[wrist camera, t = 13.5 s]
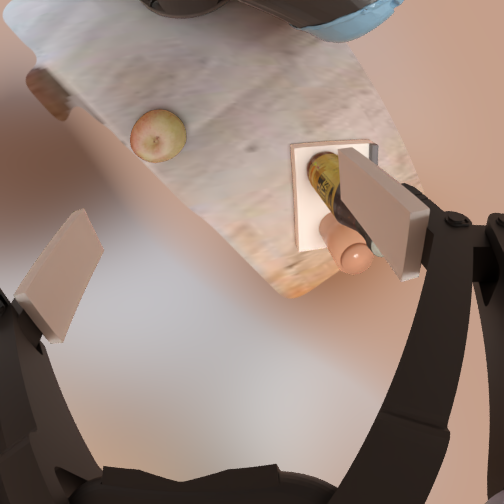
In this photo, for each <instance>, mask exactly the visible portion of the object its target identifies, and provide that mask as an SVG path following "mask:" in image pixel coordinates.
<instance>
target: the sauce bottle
mask: <svg viewBox="0 0 504 504" xmlns="http://www.w3.org/2000/svg"><path fill="white" fill-rule="evenodd" d="M307 175H308V179H309V181H310V184H311V185H312V187H313V188H314V189H315V191H316V192H317V193H318V195H319V196H320V197H321V199H322V200H323V202H324V203H325V205H326V206H327V207H328V209H329V210H330V211H331V213H332V214H333V216H334V217H335V218H336V220H337V221H338V222H339V223H340V224H342V225H344V226H347V227H349V228H351V229H353V230H355V231H357V232H358V233H359V234H360V235H362V237H363V238H364V240H365V241H366V245H367V247H368V248H369V249H370V250H371V252H372V253H373V254H374V255H376V256H378V257H384V256H383V255H382V253H381V252H380V251H379V249H378V248H377V246H376V245H375V244H374V242H373V241H372V240H371V238H370V237H369V235H368V234H367V233H366V231H365V230H364V229H363V227H362V226H361V225H360V223H359V222H358V221H357V219H356V218H355V217H354V216H353V214H352V213H351V212H350V210H349V209H348V208H347V207H346V205H345V204H344V203H343V201H342V200H341V192H340V174H339V160H338V155H336V154H334V153H332V152H322V153H319V154H317V155H315V156H314V157H313V158H312V159H311V161H310V162H309V164H308V168H307Z"/></svg>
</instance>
